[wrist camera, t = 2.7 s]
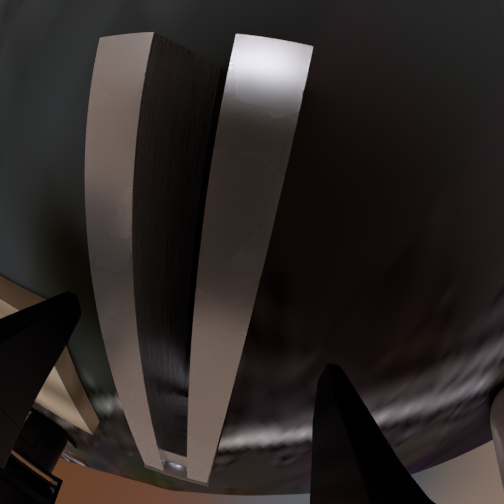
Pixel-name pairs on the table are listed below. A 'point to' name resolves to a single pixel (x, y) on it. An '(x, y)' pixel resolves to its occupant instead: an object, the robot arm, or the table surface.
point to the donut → (498, 429)
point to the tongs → (183, 225)
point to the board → (63, 373)
